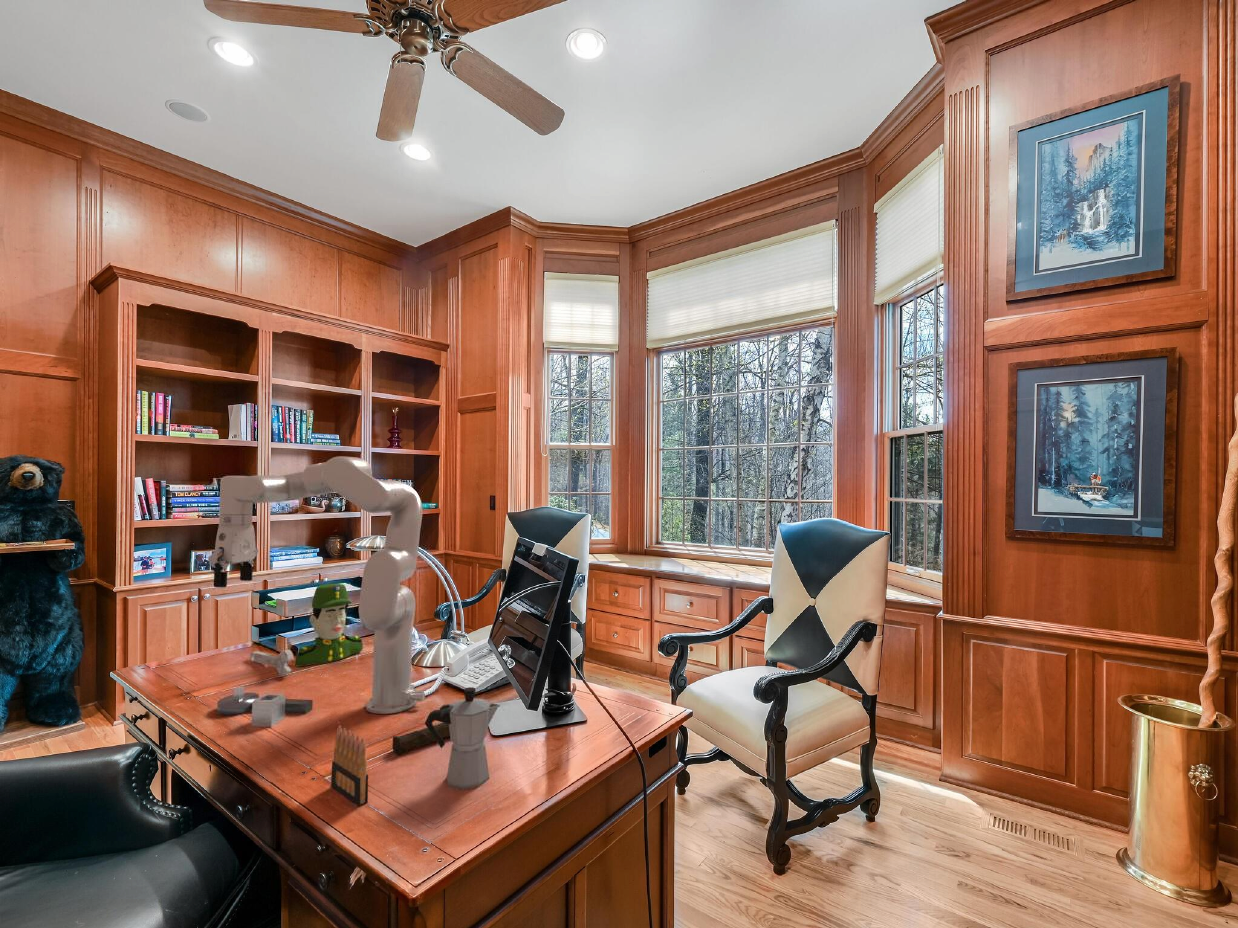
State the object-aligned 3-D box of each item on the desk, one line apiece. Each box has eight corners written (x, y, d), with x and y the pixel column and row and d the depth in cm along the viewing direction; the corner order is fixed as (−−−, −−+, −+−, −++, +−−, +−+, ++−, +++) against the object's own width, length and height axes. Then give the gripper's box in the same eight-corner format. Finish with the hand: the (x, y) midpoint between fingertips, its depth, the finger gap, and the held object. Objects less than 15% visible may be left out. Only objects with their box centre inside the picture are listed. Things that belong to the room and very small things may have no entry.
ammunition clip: (368, 802, 106) (369, 737, 107) (358, 806, 105) (360, 741, 105) (340, 783, 113) (341, 722, 113) (330, 787, 111) (332, 725, 112)
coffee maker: (495, 762, 122) (497, 677, 123) (503, 782, 114) (505, 692, 114) (422, 774, 116) (424, 686, 117) (424, 797, 108) (427, 701, 109)
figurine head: (304, 671, 176) (306, 590, 177) (287, 664, 183) (289, 586, 184) (371, 655, 194) (373, 581, 195) (353, 648, 201) (355, 577, 202)
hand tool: (397, 758, 123) (398, 737, 124) (390, 752, 126) (391, 730, 127) (477, 734, 136) (477, 714, 136) (469, 728, 139) (469, 709, 139)
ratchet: (319, 704, 151) (319, 683, 151) (298, 718, 142) (298, 696, 142) (234, 701, 153) (234, 680, 153) (208, 715, 144) (209, 693, 144)
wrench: (256, 667, 188) (294, 677, 169) (250, 669, 187) (287, 679, 168) (256, 643, 189) (294, 650, 170) (249, 644, 187) (287, 651, 169)
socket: (284, 718, 142) (285, 693, 143) (271, 726, 138) (272, 701, 138) (265, 717, 143) (266, 693, 143) (251, 725, 138) (252, 700, 138)
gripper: (225, 523, 147) (223, 590, 146) (269, 519, 164) (267, 578, 163) (197, 522, 147) (195, 589, 147) (244, 518, 164) (242, 577, 164)
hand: (233, 583), depth 155 cm, fingers open, 9 cm apart
